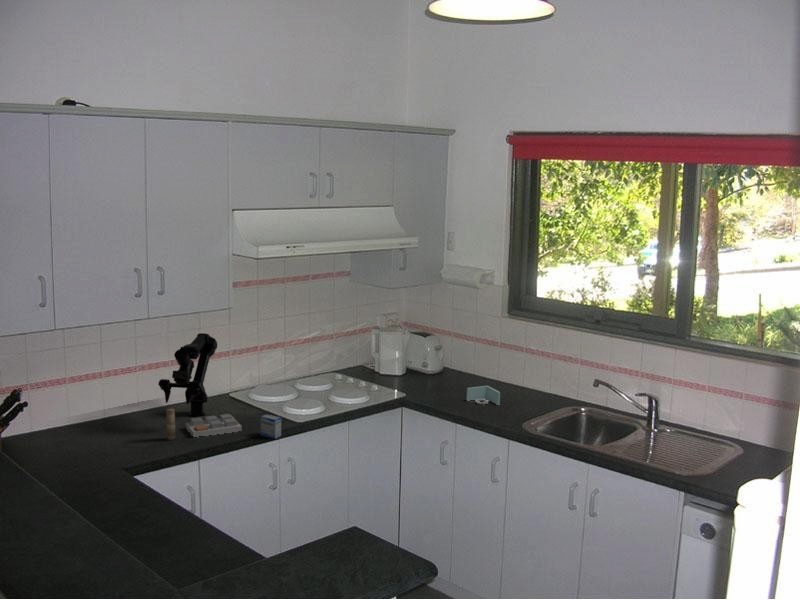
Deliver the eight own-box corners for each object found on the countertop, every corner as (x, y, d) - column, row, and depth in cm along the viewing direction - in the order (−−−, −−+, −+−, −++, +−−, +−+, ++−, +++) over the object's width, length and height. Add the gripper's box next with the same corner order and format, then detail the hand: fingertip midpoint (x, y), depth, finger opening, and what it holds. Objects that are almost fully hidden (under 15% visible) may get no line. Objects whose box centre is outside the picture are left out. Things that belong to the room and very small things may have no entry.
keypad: (186, 428, 363) (186, 418, 362) (232, 422, 373) (232, 412, 372) (193, 438, 352) (193, 427, 351) (241, 431, 361) (241, 421, 361)
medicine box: (260, 435, 357) (260, 416, 356) (266, 432, 361) (266, 413, 359) (275, 439, 354) (275, 419, 352) (281, 436, 357) (281, 416, 356)
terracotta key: (194, 431, 357) (194, 425, 357) (204, 430, 359) (204, 424, 359) (197, 434, 353) (197, 429, 353) (207, 433, 355) (207, 427, 355)
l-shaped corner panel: (466, 402, 414) (467, 388, 413) (486, 399, 420) (487, 385, 418) (478, 409, 404) (479, 394, 402) (499, 406, 409) (500, 392, 408)
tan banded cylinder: (165, 438, 350) (165, 409, 348) (174, 437, 352) (173, 408, 349) (167, 441, 347) (167, 411, 345) (176, 440, 349) (175, 410, 346)
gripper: (159, 361, 357) (150, 393, 348) (201, 363, 355) (193, 395, 347) (166, 373, 366) (157, 405, 357) (207, 376, 365) (199, 407, 356)
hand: (176, 403), depth 354 cm, fingers open, 9 cm apart
